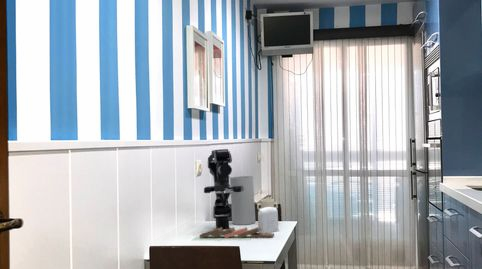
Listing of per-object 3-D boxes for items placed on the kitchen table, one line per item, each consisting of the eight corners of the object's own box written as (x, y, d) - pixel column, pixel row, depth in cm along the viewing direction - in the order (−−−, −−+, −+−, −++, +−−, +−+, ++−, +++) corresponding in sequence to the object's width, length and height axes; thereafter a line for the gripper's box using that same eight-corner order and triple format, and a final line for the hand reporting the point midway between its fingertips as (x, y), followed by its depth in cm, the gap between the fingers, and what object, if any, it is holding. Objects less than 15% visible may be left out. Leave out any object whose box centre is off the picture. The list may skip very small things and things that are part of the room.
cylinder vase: (244, 220, 284) (242, 176, 284) (260, 222, 275) (257, 176, 275) (227, 224, 275) (225, 178, 276) (243, 226, 266) (240, 178, 266)
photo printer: (274, 230, 247) (273, 205, 247) (280, 231, 244) (278, 206, 244) (257, 234, 241) (256, 208, 242) (262, 235, 238) (261, 208, 238)
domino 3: (237, 234, 231) (257, 228, 229) (240, 232, 236) (260, 226, 234) (238, 238, 231) (258, 231, 229) (241, 236, 236) (261, 229, 233)
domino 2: (211, 235, 234) (231, 229, 232) (214, 233, 239) (233, 227, 237) (212, 238, 234) (232, 232, 232) (215, 236, 239) (234, 230, 236)
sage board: (191, 241, 232) (190, 240, 232) (200, 235, 245) (200, 234, 245) (250, 241, 225) (250, 239, 225) (256, 235, 238) (256, 234, 238)
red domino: (223, 234, 233) (243, 229, 230) (226, 232, 237) (246, 227, 235) (224, 238, 233) (244, 232, 230) (227, 236, 237) (247, 230, 235)
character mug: (277, 222, 271) (276, 198, 271) (279, 224, 264) (278, 199, 264) (257, 224, 270) (256, 199, 270) (258, 226, 263) (257, 201, 263)
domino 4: (250, 234, 230) (272, 235, 227) (252, 232, 234) (274, 233, 232) (250, 238, 230) (272, 239, 227) (252, 235, 234) (274, 236, 232)
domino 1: (199, 235, 236) (218, 229, 233) (202, 233, 240) (221, 227, 238) (200, 238, 235) (219, 232, 233) (203, 236, 240) (222, 230, 238)
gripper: (199, 177, 242) (201, 209, 242) (237, 175, 237) (239, 208, 237) (206, 175, 253) (208, 206, 253) (243, 173, 248) (244, 205, 248)
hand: (224, 206), depth 247 cm, fingers closed
